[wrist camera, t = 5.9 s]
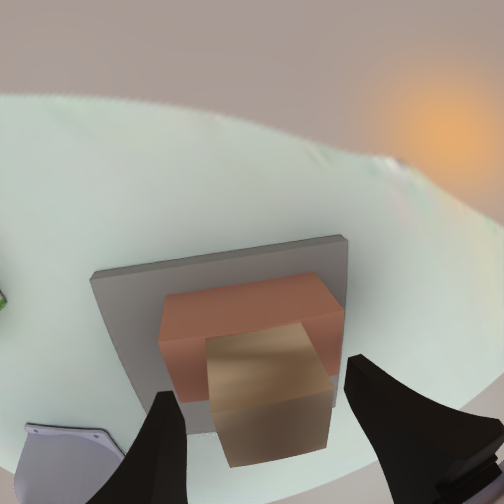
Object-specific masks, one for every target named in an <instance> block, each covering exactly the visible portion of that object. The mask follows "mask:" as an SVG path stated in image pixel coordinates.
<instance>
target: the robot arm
mask: <svg viewBox="0 0 504 504" xmlns="http://www.w3.org/2000/svg"><path fill="white" fill-rule="evenodd" d="M344 392H345V394H346V397H347V400H348V402H349V405H350V407H351V409H352V411H353V413H354V415H355V417H356V418H357V420H358V422H359V424H360V425H361V427H362V429H363V431H364V432H365V434H366V436H367V438H368V439H369V441H370V443H371V445H372V447H373V449H374V451H375V453H376V455H377V457H378V460H379V462H380V464H381V467H382V469H383V472H384V475H385V478H386V480H387V483H388V486H389V489H390V492H391V495H392V498H393V501H394V504H504V460H503V461H502V462H501V463H500V464H499V465H497V463H496V462H495V461H497V459H498V457H497V456H496V455H495V452H496V451H497V450H498V449H499V447H500V446H501V445H502V444H503V443H504V425H503V424H502V423H501V421H500V420H499V419H495V418H488V417H482V416H477V415H473V414H469V413H465V412H461V411H458V410H455V409H452V408H450V407H447V406H444V405H442V404H439V403H437V402H435V401H433V400H431V399H428V398H426V397H424V396H422V395H420V394H419V393H417V392H415V391H413V390H412V389H410V388H408V387H407V386H405V385H404V384H402V383H401V382H399V381H398V380H396V379H395V378H393V377H392V376H390V375H389V374H387V373H386V372H385V371H383V370H382V369H381V368H379V367H378V366H377V365H375V364H374V363H373V362H371V361H370V360H369V359H367V358H366V357H365V356H363V355H362V354H359V355H355V356H352V357H348V361H347V369H346V377H345V384H344ZM25 430H26V431H27V432H28V433H29V434H28V436H27V439H26V442H25V445H24V448H23V451H22V454H21V457H20V460H19V463H18V466H17V469H16V473H15V477H14V489H15V494H16V497H17V499H18V501H19V503H20V504H188V501H187V490H186V470H187V435H186V425H185V419H184V417H183V414H182V412H181V410H180V407H179V405H178V402H177V400H176V397H175V395H174V392H173V390H171V391H160V392H157V394H156V396H155V398H154V401H153V403H152V406H151V408H150V410H149V412H148V415H147V417H146V419H145V421H144V423H143V425H142V427H141V429H140V431H139V433H138V435H137V437H136V439H135V441H134V442H133V444H132V446H131V448H130V449H129V451H128V453H127V454H126V456H125V457H124V455H123V454H122V453H121V452H120V450H119V449H118V448H117V446H116V445H115V444H114V442H113V441H112V440H111V438H110V437H109V436H108V434H107V433H106V432H104V431H102V430H83V429H67V428H55V427H45V426H36V425H29V424H26V425H25Z"/></svg>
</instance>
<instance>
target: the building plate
mask: <svg viewBox="0 0 504 504" xmlns="http://www.w3.org/2000/svg"><path fill="white" fill-rule="evenodd" d="M347 264H348V240H347V239H346V238H344V237H343V236H342V235H335V236H328V237H321V238H314V239H308V240H301V241H294V242H288V243H281V244H274V245H268V246H261V247H254V248H248V249H241V250H235V251H228V252H221V253H215V254H208V255H202V256H195V257H189V258H182V259H176V260H169V261H163V262H156V263H150V264H143V265H137V266H130V267H124V268H117V269H111V270H105V271H98V272H94V274H93V275H92V277H91V278H90V280H89V281H90V284H91V287H92V290H93V292H94V295H95V298H96V301H97V304H98V307H99V309H100V312H101V315H102V317H103V320H104V322H105V325H106V328H107V330H108V333H109V335H110V338H111V340H112V342H113V345H114V347H115V349H116V352H117V354H118V356H119V359H120V361H121V363H122V365H123V367H124V370H125V372H126V374H127V376H128V378H129V380H130V382H131V384H132V386H133V389H134V391H135V393H136V395H137V397H138V398H139V400H140V402H141V404H142V406H143V408H144V410H145V412H146V414H147V415H148V412H149V410H150V408H151V406H152V403H153V401H154V398H155V396H156V394H157V392H160V391H171V390H173V392H174V395H175V397H176V400H177V402H178V405H179V407H180V410H181V412H182V414H183V417H184V419H185V425H186V435H188V434H199V433H208V432H216V428H215V425H214V422H213V419H212V416H211V412H210V400H206V401H198V402H189V403H180V401H179V398H178V396H177V393H176V391H175V388H174V385H173V383H172V380H171V378H170V375H169V372H168V370H167V367H166V364H165V361H164V358H163V356H162V353H161V350H160V347H159V344H158V338H159V332H160V325H161V319H162V313H163V307H164V302H165V296H166V295H171V294H178V293H185V292H192V291H199V290H205V289H212V288H218V287H225V286H231V285H238V284H244V283H250V282H256V281H262V280H268V279H274V278H280V277H286V276H292V275H298V274H304V273H309V272H315V273H316V275H317V276H318V277H319V278H320V280H321V281H322V282H323V283H324V285H325V286H326V287H327V289H328V290H329V291H330V293H331V294H332V295H333V296H334V298H335V299H336V300H337V302H338V303H339V304H340V306H341V307H342V308H343V310H344V319H343V332H342V343H341V354H342V344H343V333H344V320H345V306H346V288H347ZM341 354H340V364H341ZM340 364H339V373H340ZM339 373H338V375H334V376H330V377H329V378H330V380H331V382H332V384H333V386H334V388H335V389H334V397H333V405H332V408H334V407H335V404H336V397H337V389H338V381H339Z"/></svg>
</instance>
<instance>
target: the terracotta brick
mask: <svg viewBox="0 0 504 504" xmlns="http://www.w3.org/2000/svg"><path fill="white" fill-rule="evenodd" d="M343 319H344V310H343V308H342V307H341V306H340V304H339V303H338V302H337V300H336V299H335V298H334V296H333V295H332V294H331V293H330V291H329V290H328V289H327V287H326V286H325V285H324V283H323V282H322V281H321V280H320V278H319V277H318V276H317V275H316V273H315V272H309V273H304V274H298V275H292V276H286V277H280V278H274V279H268V280H262V281H256V282H250V283H244V284H238V285H231V286H225V287H218V288H212V289H205V290H199V291H192V292H185V293H178V294H171V295H166V296H165V302H164V307H163V313H162V319H161V325H160V332H159V338H158V344H159V347H160V350H161V353H162V356H163V358H164V361H165V364H166V367H167V370H168V372H169V375H170V378H171V380H172V383H173V385H174V388H175V391H176V393H177V396H178V398H179V401H180V403H189V402H198V401H206V400H209V387H208V373H207V357H206V340H205V338H211V337H218V336H224V335H230V334H237V333H243V332H249V331H254V330H260V329H266V328H271V327H276V326H282V325H287V324H292V323H297V322H301V324H302V326H303V328H304V330H305V332H306V333H307V335H308V337H309V339H310V341H311V343H312V345H313V347H314V349H315V351H316V353H317V355H318V357H319V359H320V361H321V363H322V365H323V367H324V369H325V371H326V372H327V374H328V376H329V377H330V376H334V375H338V373H339V364H340V354H341V343H342V332H343Z"/></svg>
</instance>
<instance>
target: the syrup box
mask: <svg viewBox="0 0 504 504" xmlns="http://www.w3.org/2000/svg"><path fill="white" fill-rule="evenodd" d="M5 305H6V303H5V299H4V298H3V296H2V294H1V293H0V310H1V309H2V308H3V307H4V306H5Z"/></svg>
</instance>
